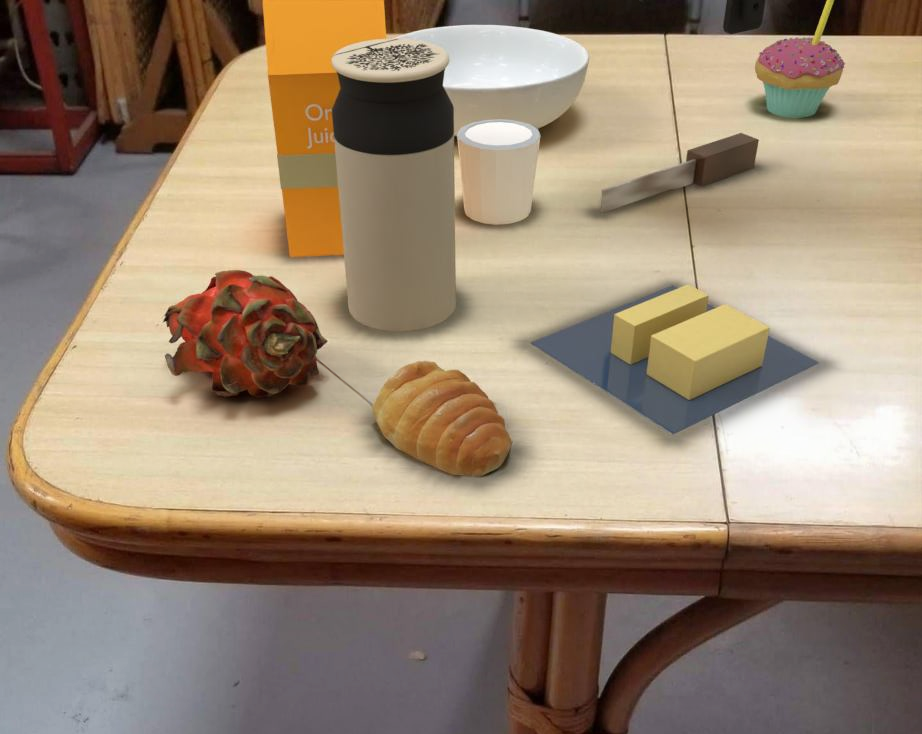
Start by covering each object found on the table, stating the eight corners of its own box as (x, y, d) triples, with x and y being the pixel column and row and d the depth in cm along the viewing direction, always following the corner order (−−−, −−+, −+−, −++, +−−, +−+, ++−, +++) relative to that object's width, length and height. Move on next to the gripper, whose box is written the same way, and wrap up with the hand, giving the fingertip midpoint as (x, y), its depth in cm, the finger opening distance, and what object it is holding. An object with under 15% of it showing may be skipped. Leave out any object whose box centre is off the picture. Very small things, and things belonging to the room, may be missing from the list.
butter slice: (682, 322, 77) (687, 283, 75) (702, 333, 76) (708, 294, 74) (610, 352, 74) (614, 313, 72) (630, 365, 72) (634, 325, 71)
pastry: (538, 457, 66) (541, 405, 63) (452, 501, 63) (450, 449, 60) (445, 392, 71) (443, 342, 69) (361, 430, 68) (356, 378, 66)
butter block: (718, 342, 75) (725, 303, 73) (762, 366, 72) (770, 326, 70) (645, 374, 72) (650, 335, 70) (689, 400, 69) (695, 360, 67)
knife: (735, 164, 100) (741, 132, 98) (753, 171, 99) (759, 139, 97) (591, 214, 92) (594, 180, 90) (609, 222, 91) (612, 188, 89)
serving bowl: (627, 132, 106) (634, 59, 102) (454, 181, 97) (453, 104, 93) (503, 77, 119) (504, 10, 115) (340, 116, 110) (334, 45, 106)
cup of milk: (521, 193, 95) (523, 113, 91) (549, 225, 90) (553, 142, 86) (447, 204, 94) (446, 123, 89) (471, 236, 89) (471, 152, 84)
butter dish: (671, 291, 81) (672, 284, 81) (817, 369, 73) (819, 362, 73) (529, 349, 75) (529, 342, 75) (671, 442, 67) (672, 434, 66)
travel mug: (476, 318, 79) (477, 61, 67) (381, 349, 75) (364, 84, 64) (421, 276, 84) (412, 29, 72) (330, 303, 81) (305, 49, 69)
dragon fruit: (327, 436, 70) (192, 410, 76) (370, 320, 72) (234, 303, 77) (254, 380, 63) (110, 355, 68) (304, 252, 64) (158, 238, 70)
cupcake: (839, 105, 112) (867, -22, 104) (824, 133, 106) (853, 1, 98) (757, 94, 114) (778, -30, 106) (738, 121, 108) (759, -9, 101)
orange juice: (292, 221, 91) (261, -40, 78) (395, 216, 92) (382, -44, 79) (289, 262, 86) (255, -12, 72) (399, 257, 86) (386, -16, 73)
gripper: (878, -268, 65) (818, 35, 76) (691, -285, 76) (662, -19, 87) (786, -261, 62) (738, 53, 73) (606, -280, 73) (588, -5, 84)
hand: (697, 14), depth 80 cm, fingers open, 9 cm apart
